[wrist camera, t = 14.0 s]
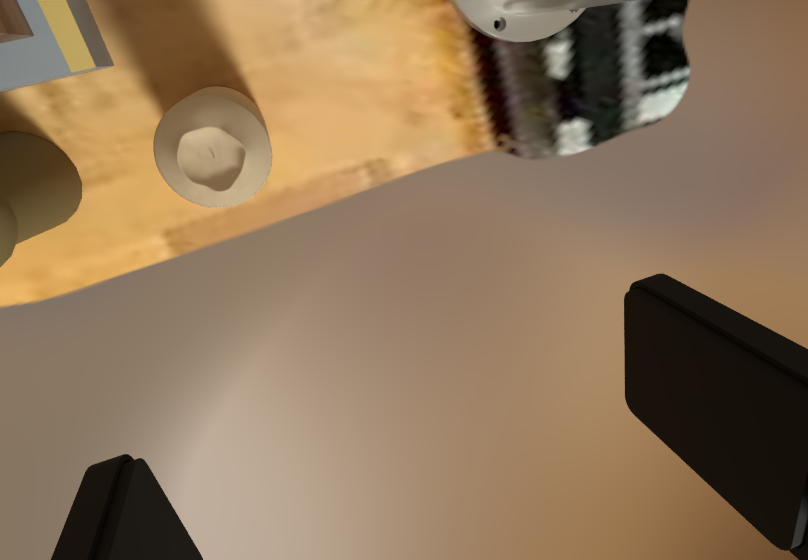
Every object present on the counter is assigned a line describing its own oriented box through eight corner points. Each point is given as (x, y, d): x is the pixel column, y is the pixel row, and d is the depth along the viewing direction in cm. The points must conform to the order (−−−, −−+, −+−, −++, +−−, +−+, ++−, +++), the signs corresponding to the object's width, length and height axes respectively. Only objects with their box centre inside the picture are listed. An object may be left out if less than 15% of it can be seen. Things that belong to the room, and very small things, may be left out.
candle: (254, 78, 32) (256, 87, 23) (276, 165, 34) (285, 202, 26) (162, 94, 31) (129, 109, 22) (192, 182, 33) (172, 227, 25)
